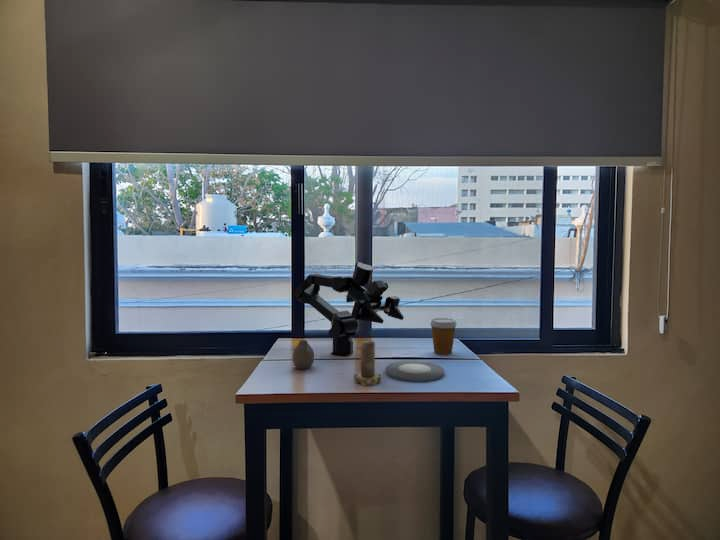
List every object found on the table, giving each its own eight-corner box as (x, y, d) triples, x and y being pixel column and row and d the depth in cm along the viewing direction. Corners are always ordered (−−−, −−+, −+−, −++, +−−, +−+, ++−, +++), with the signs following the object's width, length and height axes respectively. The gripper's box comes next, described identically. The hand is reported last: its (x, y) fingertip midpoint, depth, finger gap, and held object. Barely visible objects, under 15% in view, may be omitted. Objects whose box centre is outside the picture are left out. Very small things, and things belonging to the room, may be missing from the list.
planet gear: (350, 383, 132) (350, 344, 131) (359, 375, 139) (359, 338, 138) (376, 386, 129) (376, 346, 128) (384, 378, 136) (385, 340, 136)
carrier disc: (378, 377, 137) (378, 373, 137) (394, 362, 154) (394, 358, 154) (438, 384, 131) (438, 379, 131) (448, 367, 148) (448, 363, 148)
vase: (317, 365, 150) (317, 339, 149) (308, 371, 143) (308, 344, 143) (298, 363, 152) (298, 337, 151) (288, 369, 146) (288, 342, 145)
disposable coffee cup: (445, 357, 161) (445, 323, 160) (424, 352, 168) (424, 320, 167) (461, 353, 167) (462, 320, 166) (440, 348, 174) (441, 317, 173)
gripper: (348, 277, 147) (379, 300, 137) (388, 274, 159) (420, 295, 149) (339, 307, 151) (369, 332, 141) (379, 302, 163) (409, 324, 153)
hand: (393, 320), depth 146 cm, fingers open, 9 cm apart
